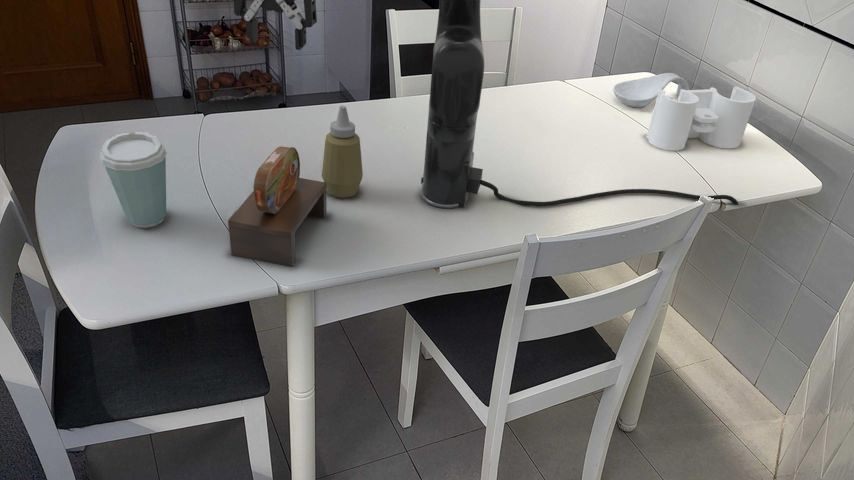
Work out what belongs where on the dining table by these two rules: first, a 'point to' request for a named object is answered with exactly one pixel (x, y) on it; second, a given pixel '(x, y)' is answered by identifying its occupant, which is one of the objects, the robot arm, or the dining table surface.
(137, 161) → the disposable coffee cup
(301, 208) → the stand
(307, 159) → the dining table surface
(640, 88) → the spoon rest
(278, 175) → the tin
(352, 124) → the squeeze bottle
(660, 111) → the bracket
